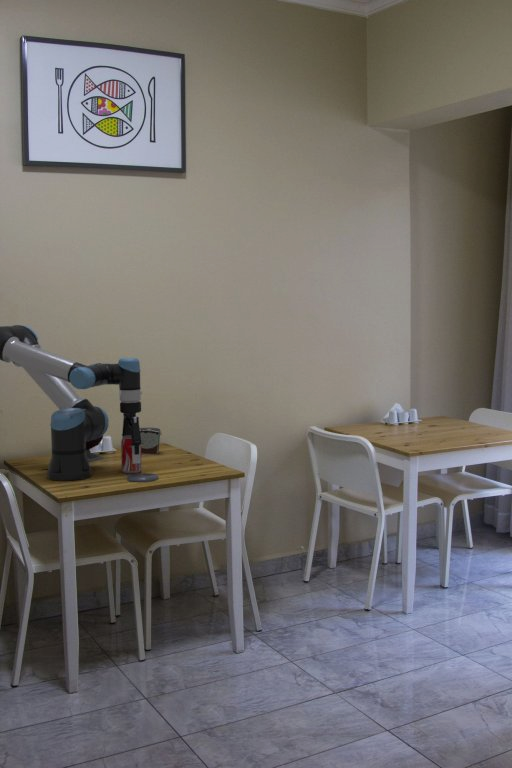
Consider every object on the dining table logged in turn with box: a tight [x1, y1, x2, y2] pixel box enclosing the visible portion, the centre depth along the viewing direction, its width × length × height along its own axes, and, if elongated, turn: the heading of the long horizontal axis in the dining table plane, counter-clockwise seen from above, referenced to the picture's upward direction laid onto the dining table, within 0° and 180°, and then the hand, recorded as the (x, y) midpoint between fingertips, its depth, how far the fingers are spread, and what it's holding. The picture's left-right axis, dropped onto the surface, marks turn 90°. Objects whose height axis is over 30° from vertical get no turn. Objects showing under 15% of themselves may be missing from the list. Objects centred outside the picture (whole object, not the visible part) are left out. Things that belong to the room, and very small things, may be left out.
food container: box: [139, 426, 162, 456], centre depth 343 cm, size 12×6×10 cm, turn 72°
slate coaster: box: [126, 472, 159, 483], centre depth 296 cm, size 11×11×1 cm
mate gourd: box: [85, 435, 104, 462], centre depth 331 cm, size 16×14×20 cm
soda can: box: [120, 435, 143, 475], centre depth 306 cm, size 7×7×13 cm
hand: (132, 460), depth 306 cm, fingers open, 13 cm apart
